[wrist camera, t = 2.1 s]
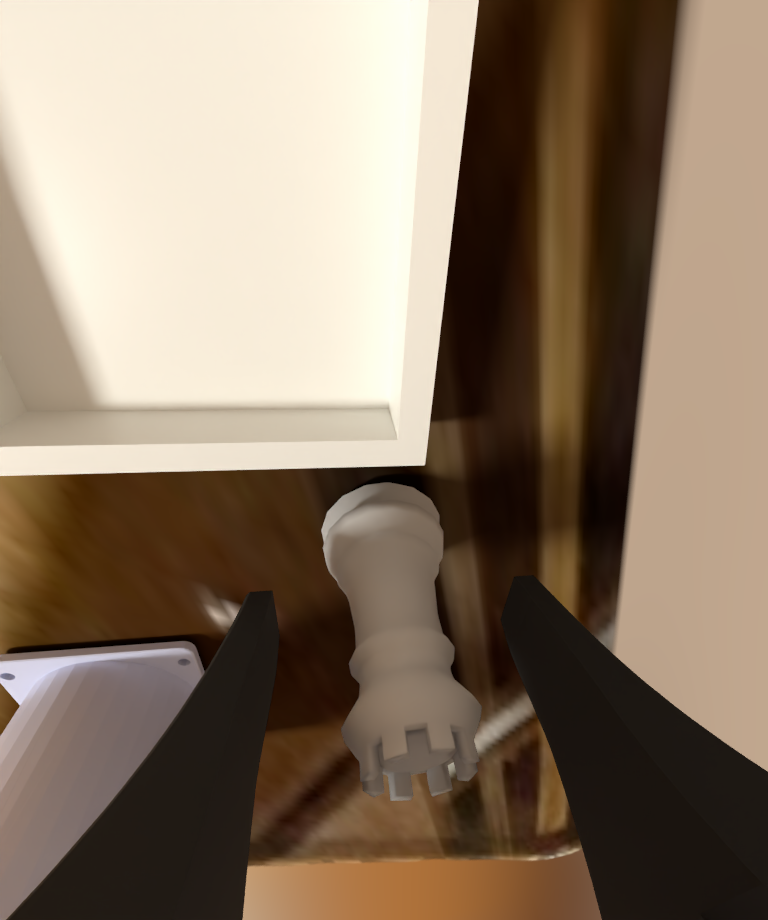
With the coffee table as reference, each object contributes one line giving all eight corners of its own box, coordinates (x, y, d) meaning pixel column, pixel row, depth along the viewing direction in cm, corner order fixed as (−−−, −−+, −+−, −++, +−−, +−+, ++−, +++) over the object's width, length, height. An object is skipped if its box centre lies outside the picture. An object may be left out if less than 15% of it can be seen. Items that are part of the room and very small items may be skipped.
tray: (409, 424, 13) (424, 465, 11) (21, 429, 11) (-51, 477, 9) (461, -183, 7) (521, -374, 4) (-364, -332, 5) (-837, -709, 3)
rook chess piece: (343, 575, 16) (351, 832, 9) (303, 495, 14) (275, 760, 7) (446, 546, 16) (531, 788, 9) (424, 459, 13) (516, 698, 7)
